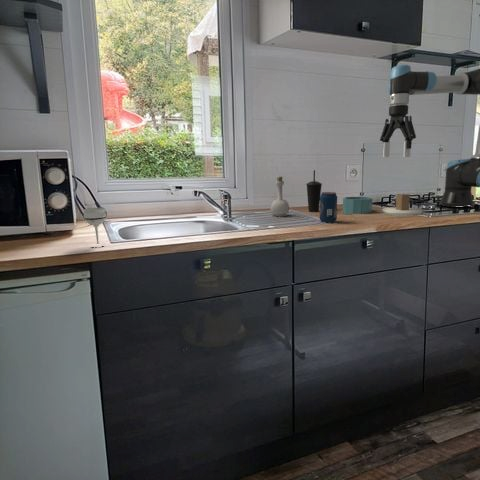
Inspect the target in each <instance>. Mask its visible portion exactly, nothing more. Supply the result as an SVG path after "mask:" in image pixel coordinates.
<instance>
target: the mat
mask: <svg viewBox="0 0 480 480" xmlns="http://www.w3.org/2000/svg"><path fill="white" fill-rule="evenodd" d="M374 212H376V213H381V214H385V215H387V214H386V213H383V212H382V209H380V210H374ZM388 215H389V216H393V217H394V216H395V217H407V216H409V217H410V215H394V214H388ZM419 215H420V216H422V215H433V213H431V212H425V211H422V214H417V215H416V216H419Z"/></svg>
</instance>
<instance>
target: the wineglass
mask: <svg viewBox="0 0 480 480" xmlns="http://www.w3.org/2000/svg"><path fill="white" fill-rule="evenodd" d="M83 212H84V213H83V220H84V221H85V222H86V223H87V224H88V225H91V226H93V227H94V229H95V230H94V231H95V236H96V244H100V243H99V229H98V227H100V225H102V224H103V223H104V222H105V221H106V219H107V213H106V208H105V207H91V208H85V209H83Z"/></svg>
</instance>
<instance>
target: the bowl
mask: <svg viewBox="0 0 480 480" xmlns="http://www.w3.org/2000/svg"><path fill="white" fill-rule="evenodd" d="M372 212H373V197H369V196H345V197H343V198H342V214H344V215H352V216H353V214H354V215H364V214H365V215H366V214H371V213H372Z"/></svg>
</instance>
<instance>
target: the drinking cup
mask: <svg viewBox="0 0 480 480" xmlns="http://www.w3.org/2000/svg"><path fill="white" fill-rule="evenodd" d="M305 185H306V191H307V193H306V194H307V209H308V212H309V213H320V196H321V194H322V186H323V183H321V182H319V181H318V180H317V181H316V170H313V180H312V181H309V182H307V183H306V184H305Z"/></svg>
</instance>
